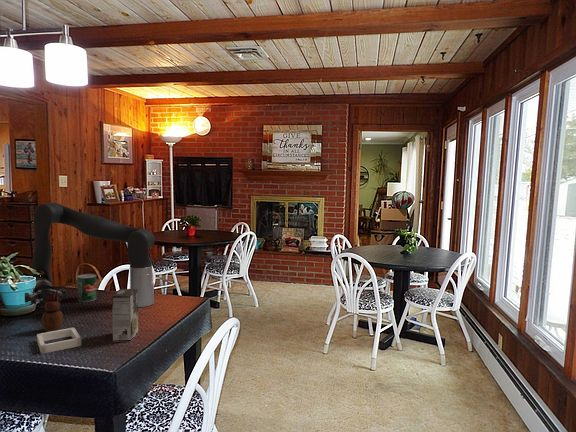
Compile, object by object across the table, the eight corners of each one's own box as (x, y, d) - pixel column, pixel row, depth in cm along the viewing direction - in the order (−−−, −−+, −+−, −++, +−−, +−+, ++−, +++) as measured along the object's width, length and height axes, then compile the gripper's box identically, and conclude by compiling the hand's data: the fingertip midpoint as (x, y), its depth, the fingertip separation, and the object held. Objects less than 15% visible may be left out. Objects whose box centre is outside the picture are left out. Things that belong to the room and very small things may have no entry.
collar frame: (74, 334, 144) (74, 327, 144) (81, 345, 134) (81, 338, 134) (37, 341, 137) (36, 334, 137) (41, 354, 128) (41, 346, 127)
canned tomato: (90, 302, 182) (90, 278, 181) (73, 301, 182) (73, 277, 181) (100, 297, 189) (99, 274, 188) (83, 296, 190) (83, 273, 189)
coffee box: (120, 331, 148) (120, 288, 146) (138, 331, 148) (138, 288, 147) (111, 341, 138) (111, 295, 137) (131, 341, 139) (130, 295, 138)
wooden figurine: (66, 329, 149) (65, 289, 147) (53, 334, 143) (51, 293, 142) (52, 326, 151) (51, 287, 150) (38, 332, 145) (37, 291, 144)
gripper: (22, 283, 163) (25, 293, 151) (62, 279, 172) (68, 287, 159) (22, 301, 164) (26, 312, 151) (62, 296, 173) (69, 306, 160)
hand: (47, 299), depth 155 cm, fingers open, 8 cm apart
